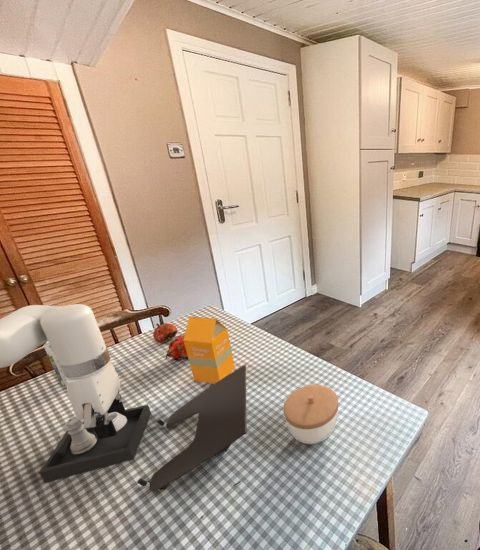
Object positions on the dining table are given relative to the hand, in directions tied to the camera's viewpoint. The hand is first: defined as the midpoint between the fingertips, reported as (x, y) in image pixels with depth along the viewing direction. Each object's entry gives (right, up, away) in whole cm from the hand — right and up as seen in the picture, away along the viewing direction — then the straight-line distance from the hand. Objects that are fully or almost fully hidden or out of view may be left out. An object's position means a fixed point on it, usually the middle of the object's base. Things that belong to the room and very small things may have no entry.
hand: (113, 425), depth 70 cm
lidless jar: (0, -1, 0) cm, 1 cm away
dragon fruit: (-2, +7, +32) cm, 33 cm away
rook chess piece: (-6, -5, 0) cm, 8 cm away
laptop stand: (+20, -5, +2) cm, 21 cm away
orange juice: (+12, +4, +24) cm, 27 cm away
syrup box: (-29, +3, +22) cm, 36 cm away
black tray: (-3, -5, +1) cm, 6 cm away
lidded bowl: (+46, -4, +4) cm, 46 cm away
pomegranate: (-13, +11, +40) cm, 43 cm away
